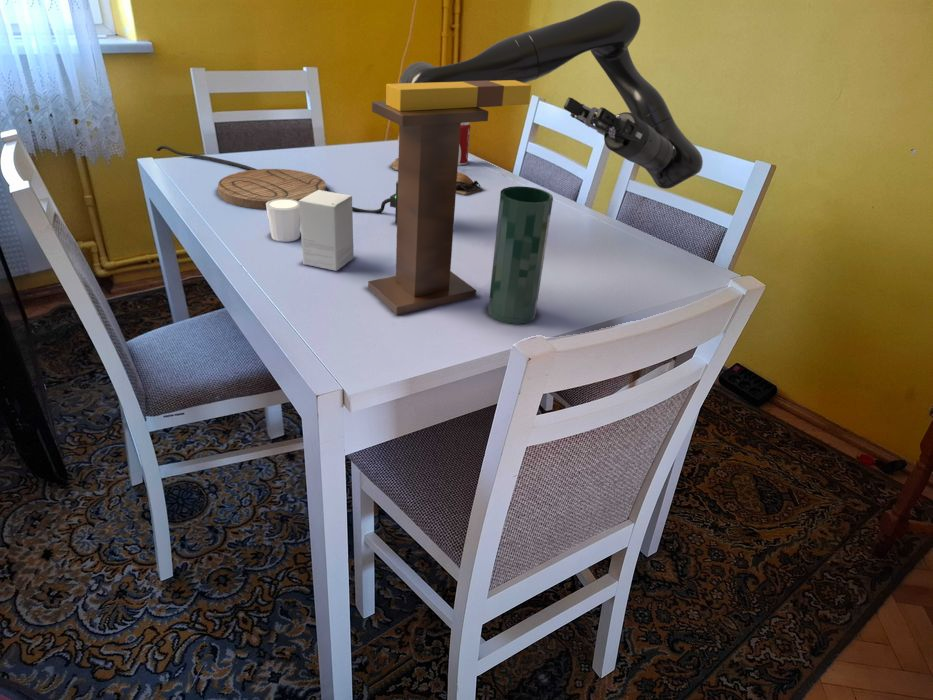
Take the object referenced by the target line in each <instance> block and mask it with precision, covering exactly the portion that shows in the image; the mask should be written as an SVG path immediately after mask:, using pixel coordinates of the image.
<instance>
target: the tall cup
mask: <svg viewBox="0 0 933 700" xmlns="http://www.w3.org/2000/svg"><path fill="white" fill-rule="evenodd" d="M553 202H554V197H553V194H552V193H550V192H548V191H546V190H544V189H540V188H537V187H532V186H521V185H519V186H518V185H517V186H515V185H514V186H507V187H504V188H502V189H501V190H500V194H499V201H498V203H499V204H498V210H497V211H498V213H497V222H496V230H495V231H496V232H495V241H494V250H493V257H492V258H493V260H492V270H491V279H490V287H489V297H488V308H487V311H488V314H489V315H490V316H491V318H492V319H495V320H497V321H498V322H502V323H506V324H509V325H510V324H512V325H523V324H526V323H529V322H531V321H533V320H534V319H535V317H536V312H537V308H538V302H539V296H540V289H541V283H542V282H541V281H542V276H543V269H544V260H545V254H546V247H547V242H548V241H547V240H548V235H549V228H550V221H551V215H552V208H553Z"/></svg>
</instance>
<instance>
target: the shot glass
mask: <svg viewBox="0 0 933 700" xmlns="http://www.w3.org/2000/svg"><path fill="white" fill-rule="evenodd" d="M266 208H267V209H266V214H267V219H268V222H269V223H268V225H269V230H270V235H271V239H273V240H274V241H277V242H282V243H283V242H285V243H286V242H289V243H290V242H294V241H297V240H299V238H301V224H300V210H299V202H298V201H296V200H293V199H275V200H271V201H268V202H267V203H266Z"/></svg>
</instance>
